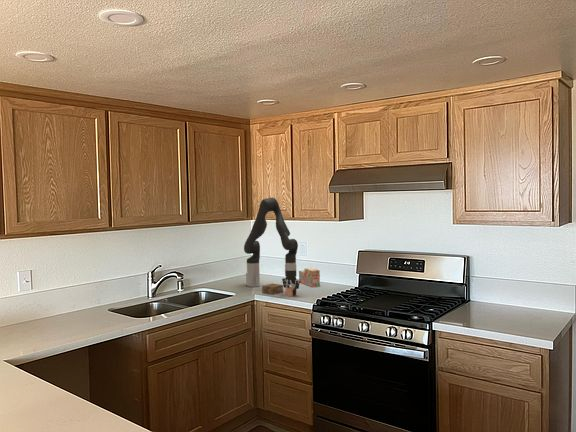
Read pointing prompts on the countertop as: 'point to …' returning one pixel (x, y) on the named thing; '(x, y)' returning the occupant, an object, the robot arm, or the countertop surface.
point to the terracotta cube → (289, 291)
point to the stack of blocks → (310, 277)
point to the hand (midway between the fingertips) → (291, 294)
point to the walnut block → (272, 289)
